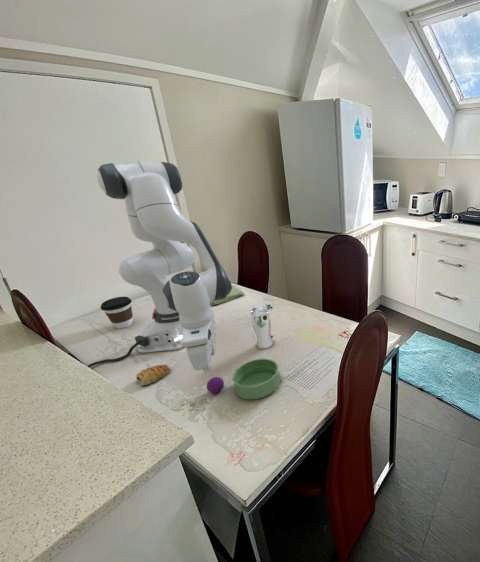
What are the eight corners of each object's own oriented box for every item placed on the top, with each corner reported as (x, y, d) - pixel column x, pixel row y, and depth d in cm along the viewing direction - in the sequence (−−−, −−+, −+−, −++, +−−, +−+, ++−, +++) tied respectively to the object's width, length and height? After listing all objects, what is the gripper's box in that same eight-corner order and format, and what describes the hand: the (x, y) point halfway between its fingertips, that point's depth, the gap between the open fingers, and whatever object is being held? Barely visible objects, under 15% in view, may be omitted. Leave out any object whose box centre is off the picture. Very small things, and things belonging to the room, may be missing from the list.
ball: (207, 398, 100) (204, 386, 98) (209, 387, 104) (206, 375, 102) (224, 394, 101) (221, 382, 99) (225, 384, 106) (222, 372, 104)
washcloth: (245, 295, 168) (244, 290, 167) (212, 307, 156) (211, 301, 155) (234, 288, 176) (233, 283, 175) (202, 299, 164) (200, 294, 163)
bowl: (235, 405, 97) (231, 392, 94) (236, 376, 109) (233, 364, 107) (282, 394, 101) (279, 380, 99) (278, 367, 113) (276, 354, 111)
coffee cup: (110, 334, 135) (100, 310, 130) (108, 324, 142) (98, 301, 137) (140, 325, 141) (132, 301, 136) (137, 316, 149) (129, 293, 144)
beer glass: (268, 350, 123) (263, 317, 117) (252, 348, 124) (246, 315, 118) (277, 340, 129) (272, 308, 123) (262, 338, 130) (256, 306, 124)
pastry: (164, 366, 115) (161, 357, 113) (173, 373, 111) (170, 364, 109) (135, 380, 107) (132, 372, 106) (144, 388, 104) (140, 379, 102)
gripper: (193, 311, 101) (203, 347, 106) (180, 346, 83) (193, 387, 88) (214, 308, 102) (223, 343, 108) (206, 341, 85) (217, 381, 90)
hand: (210, 363), depth 98 cm, fingers open, 8 cm apart
